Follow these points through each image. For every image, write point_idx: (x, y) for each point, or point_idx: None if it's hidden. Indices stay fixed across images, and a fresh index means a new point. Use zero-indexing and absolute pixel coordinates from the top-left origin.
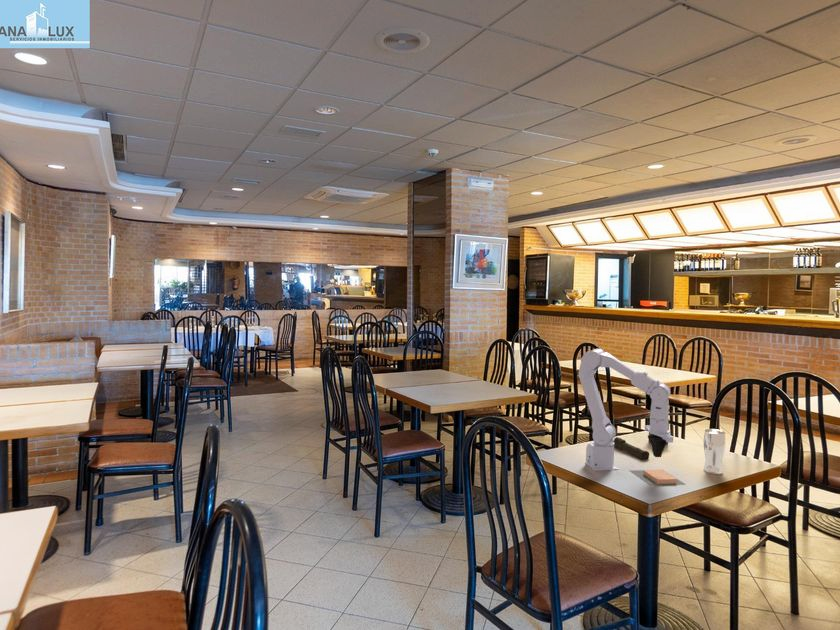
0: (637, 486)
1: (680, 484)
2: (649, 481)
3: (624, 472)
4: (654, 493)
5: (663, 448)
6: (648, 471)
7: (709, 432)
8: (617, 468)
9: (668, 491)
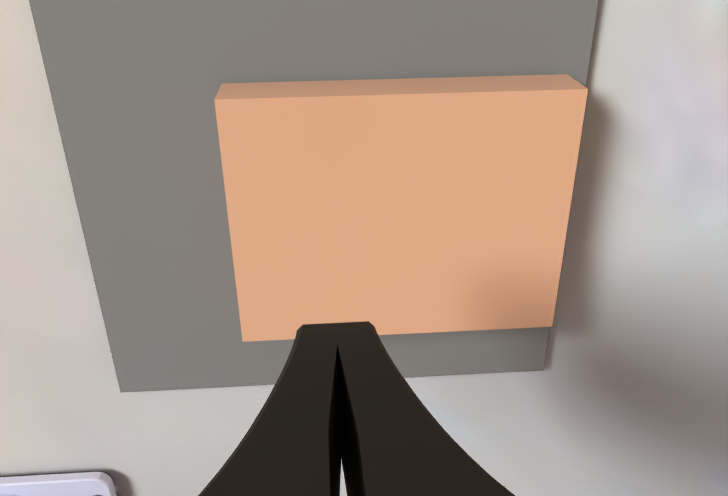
0: (522, 457)
1: (590, 31)
2: (448, 333)
3: (161, 434)
4: (694, 396)
5: (441, 436)
6: (290, 307)
7: None
8: (93, 483)
9: (695, 261)
